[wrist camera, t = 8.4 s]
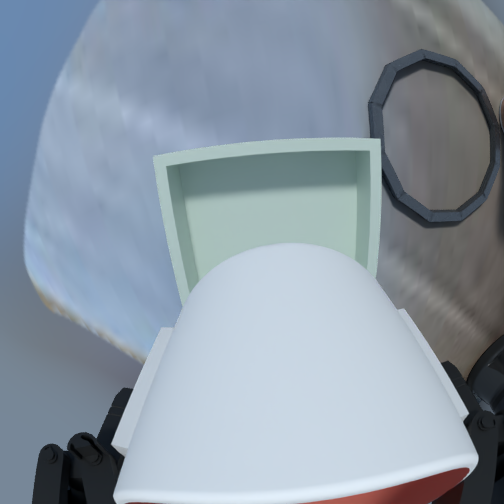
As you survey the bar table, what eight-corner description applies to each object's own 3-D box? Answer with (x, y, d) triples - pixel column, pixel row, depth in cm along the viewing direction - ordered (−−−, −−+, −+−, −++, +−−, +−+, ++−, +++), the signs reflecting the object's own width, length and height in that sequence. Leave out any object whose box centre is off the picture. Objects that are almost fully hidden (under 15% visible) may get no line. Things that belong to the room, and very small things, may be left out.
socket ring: (490, 217, 24) (495, 219, 23) (371, 221, 25) (374, 224, 25) (487, 74, 17) (492, 74, 16) (358, 40, 18) (362, 37, 18)
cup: (372, 209, 11) (552, 379, 2) (377, 367, 15) (426, 508, 5) (154, 261, 12) (29, 452, 3) (222, 398, 16) (204, 541, 7)
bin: (357, 305, 29) (368, 327, 25) (199, 317, 30) (192, 340, 27) (362, 138, 22) (380, 138, 19) (169, 153, 24) (152, 156, 20)
